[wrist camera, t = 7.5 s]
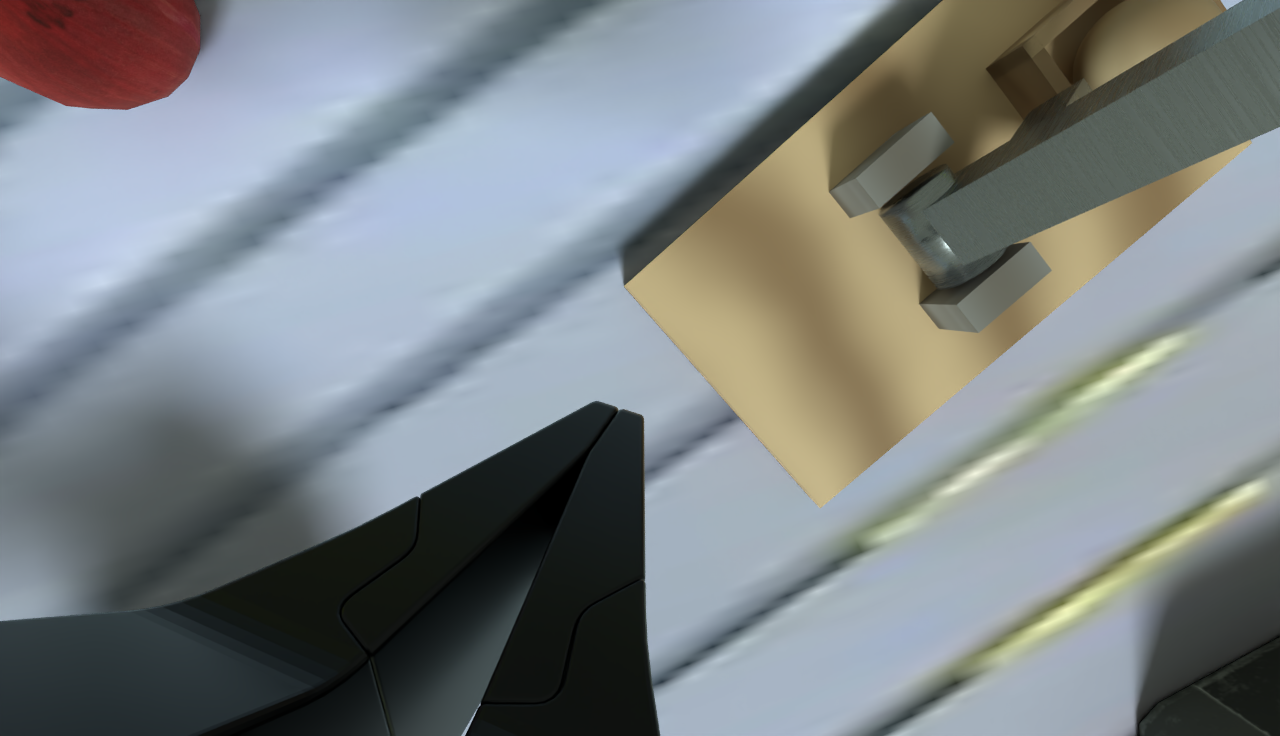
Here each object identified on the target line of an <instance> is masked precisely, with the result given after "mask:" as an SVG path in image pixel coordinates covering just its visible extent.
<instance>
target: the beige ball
mask: <svg viewBox="0 0 1280 736" xmlns="http://www.w3.org/2000/svg"><path fill="white" fill-rule="evenodd" d="M1221 13H1222V12H1221V10H1220V8H1219V7H1218V5H1217V4H1216V3H1215V2H1214V1H1213V0H1125V1H1123V2H1121V3H1120V4H1118V5H1117V6H1115V7H1114V8H1112V9H1111V10H1110V11H1108V12H1107V13H1106V14H1105V15H1104V16H1103V17H1101V18H1100V19H1099V20H1098V21H1097V22H1096V23H1095V24H1094V26H1093V27H1092V28H1091V29H1090V30H1089V32H1088V33H1087V34H1086V36H1085V37H1084V39H1083V41H1082V42H1081V44H1080V46H1079V48H1078V51H1077V53H1076V56H1075V60H1074V64H1073V82H1074V84H1075V83H1076V82H1078V81H1079V80H1081V79H1083V78H1084V79H1085V80H1086V82H1087V83H1088V84H1089V86H1090V87H1091V89H1092V90H1095V89H1096V88H1098V87H1100V86H1101V85H1103V84H1105V83H1106V82H1108V81H1110V80H1111V79H1113V78H1115V77H1116V76H1118V75H1120V74H1121V73H1123V72H1125V71H1126V70H1128V69H1130V68H1131V67H1133V66H1135V65H1136V64H1138V63H1140V62H1141V61H1143V60H1145V59H1146V58H1148V57H1150V56H1151V55H1153V54H1155V53H1156V52H1158V51H1160V50H1161V49H1163V48H1165V47H1166V46H1168V45H1170V44H1171V43H1173V42H1175V41H1176V40H1178V39H1180V38H1181V37H1183V36H1185V35H1186V34H1188V33H1190V32H1191V31H1193V30H1195V29H1196V28H1198V27H1200V26H1201V25H1203V24H1205V23H1206V22H1208V21H1210V20H1211V19H1213V18H1215V17H1216V16H1218V15H1220V14H1221Z"/></svg>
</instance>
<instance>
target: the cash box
mask: <svg viewBox="0 0 1280 736" xmlns="http://www.w3.org/2000/svg"><path fill="white" fill-rule="evenodd" d="M1139 730H1140V736H1280V637H1279V638H1277V639H1275V640H1273V641H1271V642H1270V643H1268V644H1266V645H1264V646H1262V647H1260V648H1259V649H1257V650H1255V651H1253V652H1251V653H1249V654H1247V655H1246V656H1244V657H1242V658H1240V659H1238V660H1236V661H1235V662H1233V663H1231V664H1229V665H1227V666H1225V667H1223V668H1222V669H1220V670H1218V671H1216V672H1214V673H1212V674H1211V675H1209V676H1207V677H1205V678H1203V679H1201V680H1199V681H1198V682H1196V683H1194V684H1192V685H1191V686H1189V687H1187V688H1185V689H1183V690H1181V691H1180V692H1178V693H1176V694H1174V695H1172V696H1170V697H1168V698H1167V699H1165V700H1163V701H1161V702H1159V703H1158V704H1157V705H1156V706H1155V707H1154V708H1153V709H1152V710H1151V712H1150V713H1149V714H1148V715H1147V716H1146V717H1145V718H1144V719H1143V720H1142V721H1141V723H1140V724H1139Z"/></svg>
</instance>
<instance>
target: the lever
mask: <svg viewBox="0 0 1280 736" xmlns="http://www.w3.org/2000/svg"><path fill="white" fill-rule="evenodd" d="M1278 127H1280V0H1243V1H1241V2H1239V3H1238V4H1236V5H1234V6H1233V7H1231V8H1229V9H1228V10H1226V11H1224V12H1223V13H1221V14H1220V15H1218V16H1216V17H1215V18H1213V19H1211V20H1210V21H1208V22H1206V23H1205V24H1203V25H1201V26H1200V27H1198V28H1196V29H1195V30H1193V31H1191V32H1190V33H1188V34H1186V35H1185V36H1183V37H1181V38H1180V39H1178V40H1176V41H1175V42H1173V43H1171V44H1170V45H1168V46H1166V47H1165V48H1163V49H1161V50H1160V51H1158V52H1156V53H1155V54H1153V55H1151V56H1150V57H1148V58H1146V59H1145V60H1143V61H1141V62H1140V63H1138V64H1136V65H1135V66H1133V67H1131V68H1130V69H1128V70H1126V71H1125V72H1123V73H1121V74H1120V75H1118V76H1116V77H1115V78H1113V79H1111V80H1110V81H1108V82H1106V83H1105V84H1103V85H1101V86H1100V87H1098V88H1096V89H1095V90H1092V89H1091V87H1090V86H1089V84H1088V83H1087V82H1086V80H1085V79H1084V78H1083V79H1081V80H1079V81H1078V82H1076V83H1075V84H1073V85H1071V86H1070V87H1068V88H1067V89H1065V90H1063V91H1062V92H1060V93H1059V94H1057V95H1055V96H1054V97H1052V98H1051V99H1049V100H1047V101H1046V102H1044V103H1043V104H1041V105H1039V106H1038V107H1036V108H1035V109H1033V110H1031V111H1030V112H1029V113H1028V115H1027V116H1026V118H1025V119H1024V121H1023V122H1022V124H1021V125H1020V126H1019V128H1018V129H1017V131H1016V132H1015V134H1014V135H1013V137H1012V138H1011V140H1010V141H1008V142H1006V143H1005V144H1003V145H1001V146H1000V147H998V148H996V149H995V150H993V151H991V152H990V153H988V154H986V155H985V156H983V157H981V158H980V159H978V160H976V161H975V162H973V163H971V164H970V165H968V166H966V167H965V168H963V169H961V170H960V171H958V172H956V173H955V174H954V173H953V171H952V170H951V169H950V167H949V166H948V165H947V164H942V165H940V166H937V167H935V168H934V169H932V170H930V171H928V172H927V173H925V174H924V175H922V176H920V177H919V178H918V179H916V180H915V181H913V182H912V183H911V184H909V185H908V186H907V187H905V188H904V189H903V190H901V191H900V192H899V193H898V194H897V195H895V196H894V197H893V198H892V199H891V200H890V201H889V202H888V203H887V204H886V205H885V206H884V207H883V208H882V209H881V211H880V212H879V216H880V217H881V219H882V220H883V221H884V222H885V224H886V225H887V226H888V227H889V229H890V230H891V231H892V232H893V234H894V235H895V236H896V237H897V239H898V240H899V241H900V242H901V244H902V245H903V246H904V247H905V249H906V250H907V251H908V252H909V254H910V255H911V256H912V257H913V259H914V260H915V261H916V262H917V264H918V265H919V266H920V268H921V269H922V270H923V271H924V273H925V274H926V275H927V276H928V278H929V279H930V280H931V281H932V283H933V284H934V285H935V286H936V288H937V289H949V288H952V287H955V286H958V285H960V284H962V283H964V282H966V281H968V280H970V279H972V278H974V277H975V276H977V275H979V274H980V273H982V272H983V271H984V270H986V269H987V268H989V267H990V266H991V265H992V264H994V263H995V262H996V261H997V260H998V259H999V258H1000V257H1001V256H1002V255H1003V253H1004V252H1005V251H1006V249H1007V246H1010V245H1012V244H1014V243H1016V242H1019V241H1021V240H1023V239H1026V238H1028V237H1030V236H1032V235H1035V234H1037V233H1039V232H1042V231H1044V230H1046V229H1048V228H1051V227H1053V226H1055V225H1057V224H1060V223H1062V222H1064V221H1067V220H1069V219H1071V218H1073V217H1076V216H1078V215H1080V214H1082V213H1085V212H1087V211H1089V210H1092V209H1094V208H1096V207H1098V206H1101V205H1103V204H1105V203H1107V202H1110V201H1112V200H1114V199H1117V198H1119V197H1121V196H1123V195H1126V194H1128V193H1130V192H1133V191H1135V190H1137V189H1139V188H1142V187H1144V186H1146V185H1148V184H1151V183H1153V182H1155V181H1158V180H1160V179H1162V178H1164V177H1167V176H1169V175H1171V174H1173V173H1176V172H1178V171H1180V170H1183V169H1185V168H1187V167H1189V166H1192V165H1194V164H1196V163H1198V162H1201V161H1203V160H1205V159H1208V158H1210V157H1212V156H1214V155H1217V154H1219V153H1221V152H1224V151H1226V150H1228V149H1230V148H1233V147H1235V146H1237V145H1239V144H1242V143H1244V142H1246V141H1249V140H1251V139H1253V138H1255V137H1258V136H1260V135H1262V134H1264V133H1267V132H1269V131H1271V130H1274V129H1276V128H1278Z"/></svg>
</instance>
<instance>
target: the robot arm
mask: <svg viewBox="0 0 1280 736" xmlns="http://www.w3.org/2000/svg"><path fill="white" fill-rule="evenodd" d="M644 581H645V482H644V418H643V416H642V415H640V414H637V413H634V412H631V411H628V410H625V409H622V410H618V408H617V407H615V406H612V405H609V404H606V403H603V402H599V401H595V402H592V403H590V404H588V405H586V406H584V407H582V408H580V409H579V410H577V411H575V412H573V413H571V414H569V415H567V416H566V417H564V418H562V419H560V420H558V421H556V422H554V423H553V424H551V425H549V426H547V427H545V428H543V429H541V430H539V431H538V432H536V433H534V434H532V435H530V436H528V437H526V438H525V439H523V440H521V441H519V442H517V443H515V444H513V445H511V446H510V447H508V448H506V449H504V450H502V451H500V452H498V453H497V454H495V455H493V456H491V457H489V458H487V459H485V460H483V461H482V462H480V463H478V464H476V465H474V466H472V467H470V468H469V469H467V470H465V471H463V472H461V473H459V474H457V475H455V476H454V477H452V478H450V479H448V480H446V481H444V482H442V483H441V484H439V485H437V486H435V487H433V488H431V489H429V490H427V491H426V492H424V493H422V494H421V496H420V498H419V497H414V498H412V499H410V500H408V501H407V502H405V503H403V504H401V505H399V506H397V507H395V508H393V509H391V510H390V511H388V512H386V513H384V514H382V515H380V516H378V517H376V518H374V519H372V520H370V521H368V522H366V523H364V524H362V525H360V526H358V527H356V528H353V529H351V530H349V531H347V532H345V533H342V534H340V535H338V536H336V537H334V538H331V539H329V540H327V541H325V542H323V543H320V544H318V545H316V546H313V547H311V548H309V549H306V550H304V551H302V552H299V553H297V554H295V555H293V556H290V557H288V558H286V559H283V560H281V561H279V562H276V563H274V564H272V565H269V566H267V567H265V568H262V569H260V570H258V571H255V572H253V573H251V574H248V575H246V576H244V577H241V578H239V579H237V580H234V581H232V582H230V583H227V584H225V585H223V586H220V587H218V588H215V589H213V590H210V591H208V592H205V593H203V594H200V595H197V596H194V597H191V598H188V599H185V600H182V601H178V602H174V603H170V604H166V605H162V606H158V607H152V608H146V609H140V610H131V611H119V612H107V613H95V614H82V615H70V616H58V617H45V618H33V619H21V620H9V621H0V736H461V735H462V733H463V732H464V730H465V728H466V726H467V725H468V723H469V721H470V720H471V718H472V716H473V714H474V713H475V711H476V709H477V708H478V706H479V704H480V702H481V706H480V707H479V708H478V710H477V712H476V714H475V716H474V718H473V721H472V723H471V725H470V727H469V729H468V731H467V733H466V735H465V736H660V731H659V724H658V718H657V711H656V704H655V698H654V691H653V685H652V677H651V668H650V660H649V652H648V643H647V624H646V584H645V582H644Z"/></svg>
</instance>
